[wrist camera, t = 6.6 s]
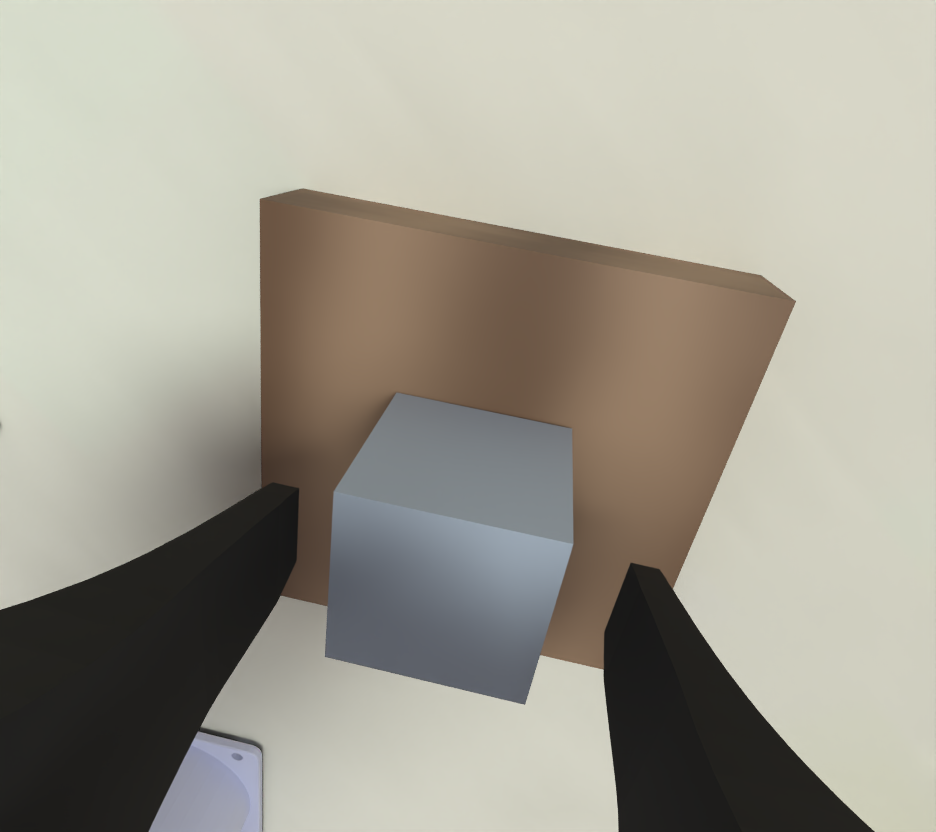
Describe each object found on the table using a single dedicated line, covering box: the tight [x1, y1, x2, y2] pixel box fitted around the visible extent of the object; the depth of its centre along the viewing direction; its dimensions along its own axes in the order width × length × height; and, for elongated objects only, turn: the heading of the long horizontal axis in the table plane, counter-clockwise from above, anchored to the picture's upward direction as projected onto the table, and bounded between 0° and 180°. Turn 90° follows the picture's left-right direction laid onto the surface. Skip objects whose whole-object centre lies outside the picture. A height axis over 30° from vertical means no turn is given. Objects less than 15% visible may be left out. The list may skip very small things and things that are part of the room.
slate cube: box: [325, 393, 573, 704], centre depth 14 cm, size 4×4×4 cm
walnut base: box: [260, 189, 796, 669], centre depth 17 cm, size 12×12×3 cm
